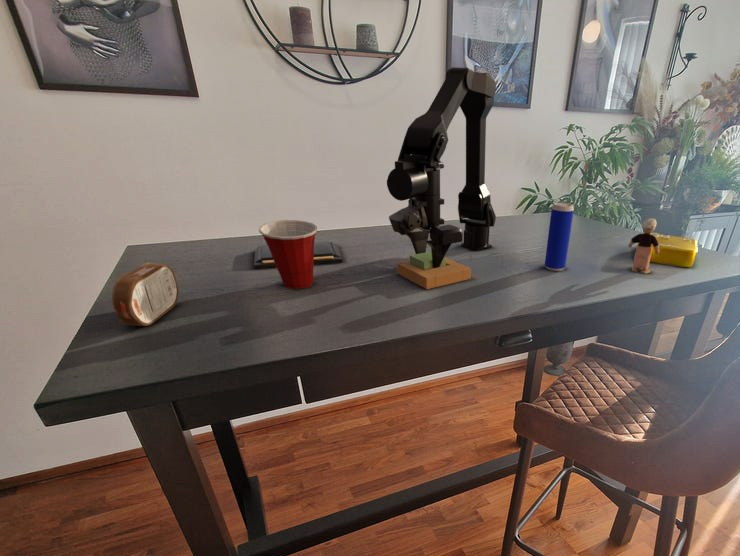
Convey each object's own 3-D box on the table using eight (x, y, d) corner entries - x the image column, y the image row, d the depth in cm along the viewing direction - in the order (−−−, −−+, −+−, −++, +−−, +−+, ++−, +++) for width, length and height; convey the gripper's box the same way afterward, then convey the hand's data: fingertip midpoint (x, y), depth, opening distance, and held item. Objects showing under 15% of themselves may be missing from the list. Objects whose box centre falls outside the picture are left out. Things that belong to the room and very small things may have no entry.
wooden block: (440, 265, 108) (440, 254, 107) (470, 279, 101) (470, 268, 99) (397, 273, 102) (397, 263, 100) (426, 289, 94) (426, 278, 93)
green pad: (431, 264, 106) (431, 251, 104) (446, 271, 102) (446, 257, 100) (410, 268, 102) (409, 255, 101) (424, 276, 99) (424, 262, 97)
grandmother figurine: (654, 271, 112) (668, 219, 105) (653, 275, 109) (666, 222, 102) (624, 266, 114) (635, 214, 107) (621, 270, 111) (633, 217, 104)
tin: (169, 299, 84) (153, 255, 79) (187, 299, 84) (172, 255, 79) (122, 335, 71) (100, 285, 67) (143, 335, 71) (122, 285, 67)
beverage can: (564, 265, 112) (573, 203, 104) (565, 272, 108) (575, 207, 100) (544, 264, 113) (551, 201, 104) (544, 270, 108) (552, 206, 100)
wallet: (336, 238, 117) (342, 255, 105) (337, 245, 118) (343, 263, 106) (254, 242, 111) (250, 260, 99) (256, 250, 112) (252, 268, 100)
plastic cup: (274, 297, 87) (260, 235, 81) (268, 279, 95) (255, 221, 88) (330, 289, 91) (321, 230, 85) (320, 273, 99) (311, 218, 93)
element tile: (633, 260, 119) (637, 242, 116) (638, 246, 131) (642, 230, 128) (692, 268, 115) (698, 250, 112) (692, 254, 126) (697, 237, 124)
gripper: (371, 189, 95) (377, 260, 103) (418, 204, 83) (421, 284, 91) (415, 185, 101) (417, 253, 109) (465, 199, 89) (463, 275, 97)
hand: (428, 265), depth 102 cm, fingers closed on green pad, 6 cm apart
